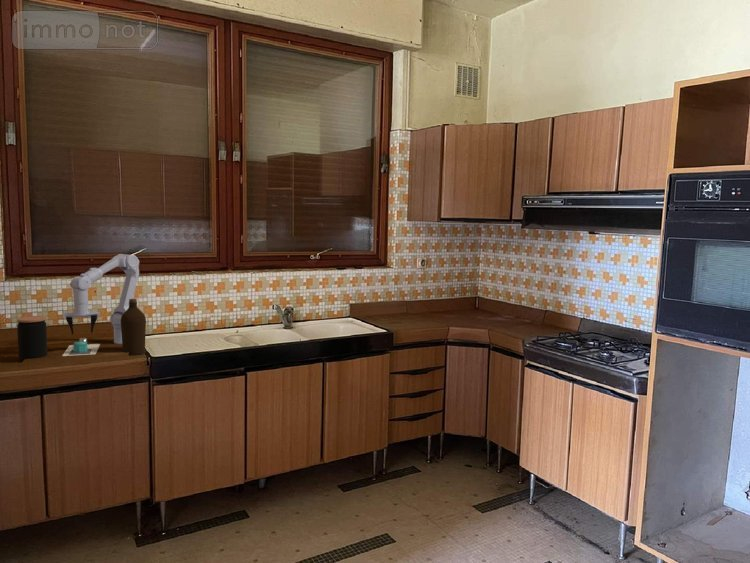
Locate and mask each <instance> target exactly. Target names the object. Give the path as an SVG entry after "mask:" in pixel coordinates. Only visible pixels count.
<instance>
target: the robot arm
mask: <svg viewBox="0 0 750 563" xmlns="http://www.w3.org/2000/svg"><path fill="white" fill-rule="evenodd" d="M139 265H140V260H139V259H138V257H137V256H136V255H134V254H125V253H124V254H123V253H119V254H117V255H115V256H113V257H112V258H111V259H110V260H108V261H107V262H105V263H104V264H102V265H101V266H98V267H90V268H89V269H88V271H86V272H84V273H83V272H82V273H80V275H79V276H75V277H73V278H72V279H71V282H69V285H70V287H71V289H72V292H73V311H74V312H69V313H67V312H66V313H62V319H63V320H64V319H65V320H66V322H67V324H68V326H69V328H70V332H71V335H74V325H73V323H74V322H73V319H75V318H77V319H78V318H90V333H92V334H93V333H94V328H95V324H96V322H97V321H98V320H97V319H98V317H100V316H101V315H100V314H101V312H100V311H89V289H90V287H91V285H92V284H94V283H96V282H97V281H99V280H101V279H102V278H103V275H104V274H106V273H107V272H109V271H112V270H114V269H116V268H120V269H121V270H122V271H123V272H124V273H125V278H124V283H123V286H122V291H121V296H120V298H119V303H118V306H117V307H116V308H114V309H113V311H112V313H111V315H110V316H109V321H110V323H111V325H112V327H113V343H114V344H117V345H122V333H121V317H122V315H123V313H124V312H125V311H126V310H127V309H128V308H129V299H134V296H135V292H136V288H137V284H138V281H139V280H138V279H139V276H140V268H139V267H140V266H139Z"/></svg>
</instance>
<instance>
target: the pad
mask: <svg viewBox="0 0 750 563" xmlns="http://www.w3.org/2000/svg"><path fill="white" fill-rule="evenodd" d="M91 350H92V349H87V351H86V352H81V353H75V352H74V350H71V352H70V353H69V355H74V356H77V355H76V354H90V352H91Z"/></svg>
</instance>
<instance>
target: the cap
mask: <svg viewBox="0 0 750 563" xmlns="http://www.w3.org/2000/svg"><path fill="white" fill-rule="evenodd" d="M87 344H88V341H87V342H86V341H80V340H79V341H75V342H73V344H72V345H73V347H74V352H75V353H81V352H86V351H87Z"/></svg>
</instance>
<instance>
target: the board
mask: <svg viewBox="0 0 750 563" xmlns="http://www.w3.org/2000/svg"><path fill="white" fill-rule="evenodd" d="M73 345H74V344H71V345H70V344H69V345H68V347H67V348H66V350H65V351H64V353H63V354H62V357H67V356H70V357H71V356H73V357H75V356H87V355H88V356H89V355H91V356H92V355H96V354H97V352H98V350H99V348H100V345H101V343H92V344H91V343H90V344H88V343H87V349H92V350H91V352H90V354H76V355H69V353H70V352H71V350H74V347H73Z"/></svg>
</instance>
